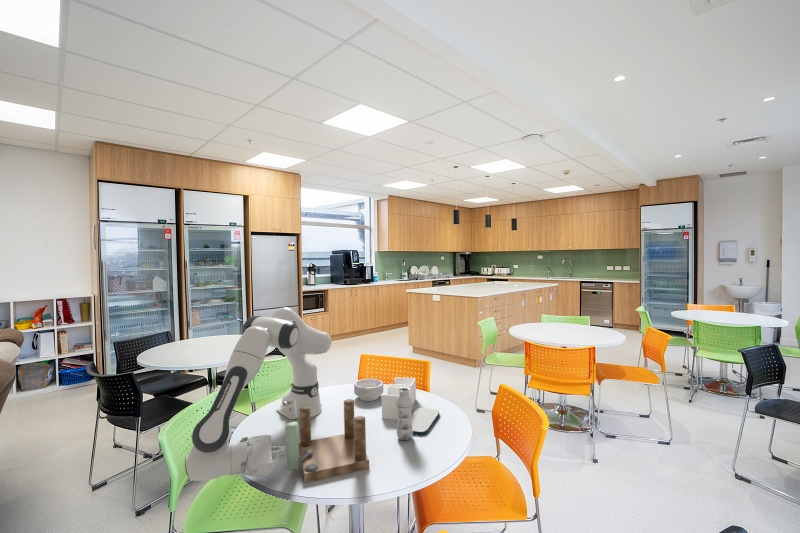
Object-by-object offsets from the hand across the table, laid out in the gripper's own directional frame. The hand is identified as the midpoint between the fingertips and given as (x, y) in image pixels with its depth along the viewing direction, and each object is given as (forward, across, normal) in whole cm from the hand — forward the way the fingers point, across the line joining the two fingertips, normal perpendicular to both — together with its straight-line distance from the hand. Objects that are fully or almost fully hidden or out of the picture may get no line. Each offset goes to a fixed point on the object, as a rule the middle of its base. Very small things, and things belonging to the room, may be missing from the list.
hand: (286, 449), depth 127 cm
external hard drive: (+58, +20, +9) cm, 62 cm away
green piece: (+5, +2, +6) cm, 7 cm away
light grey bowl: (+45, +57, +9) cm, 73 cm away
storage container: (+55, +38, +9) cm, 68 cm away
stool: (+16, +5, +9) cm, 19 cm away
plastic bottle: (+46, +9, +9) cm, 48 cm away
